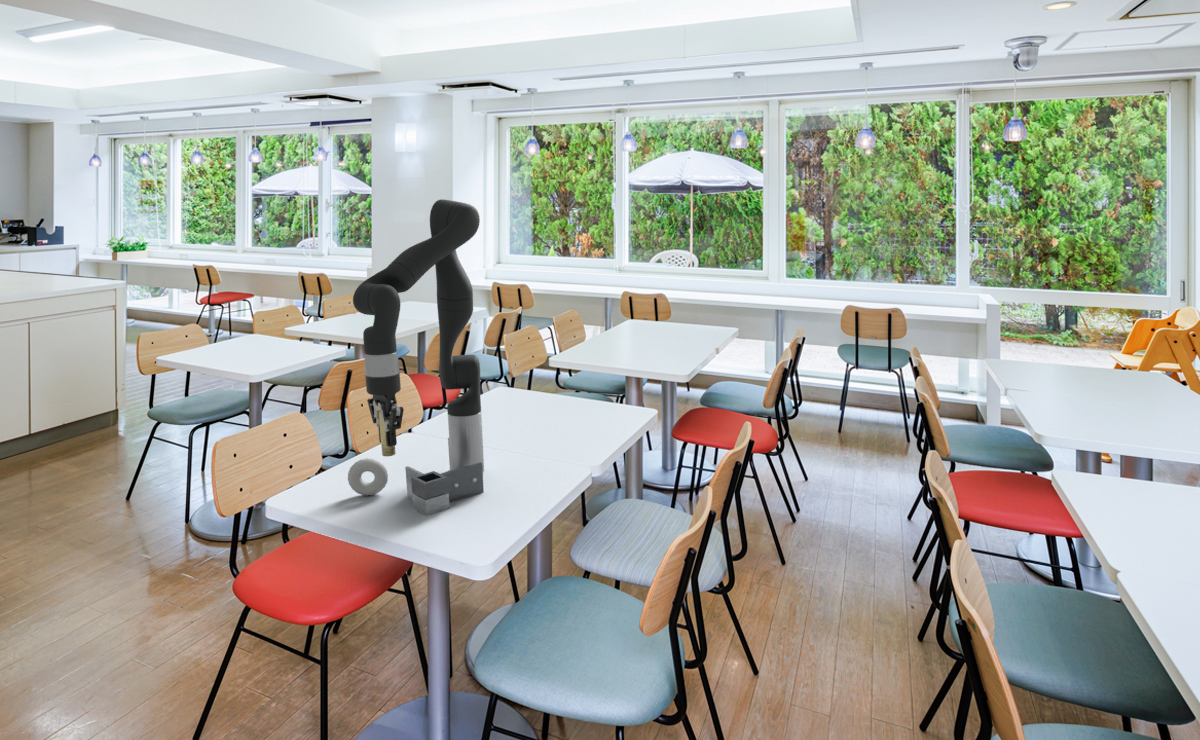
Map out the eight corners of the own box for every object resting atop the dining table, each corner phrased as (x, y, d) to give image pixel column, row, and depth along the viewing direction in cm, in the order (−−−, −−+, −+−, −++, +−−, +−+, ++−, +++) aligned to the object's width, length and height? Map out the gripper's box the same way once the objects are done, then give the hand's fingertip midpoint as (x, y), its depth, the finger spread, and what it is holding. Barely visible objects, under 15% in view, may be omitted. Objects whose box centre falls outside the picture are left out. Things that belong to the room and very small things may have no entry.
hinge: (397, 499, 183) (395, 469, 181) (459, 480, 195) (457, 452, 194) (426, 515, 173) (424, 484, 171) (489, 494, 185) (488, 465, 183)
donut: (348, 499, 184) (344, 462, 182) (350, 494, 187) (347, 457, 185) (388, 496, 185) (385, 459, 183) (390, 491, 189) (387, 455, 187)
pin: (376, 454, 168) (372, 404, 165) (392, 450, 170) (388, 401, 168) (384, 458, 165) (380, 408, 162) (400, 454, 167) (396, 404, 165)
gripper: (412, 374, 161) (417, 447, 165) (383, 364, 171) (389, 434, 175) (381, 379, 156) (387, 455, 160) (353, 369, 166) (359, 441, 170)
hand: (388, 443), depth 167 cm, fingers closed on pin, 3 cm apart
